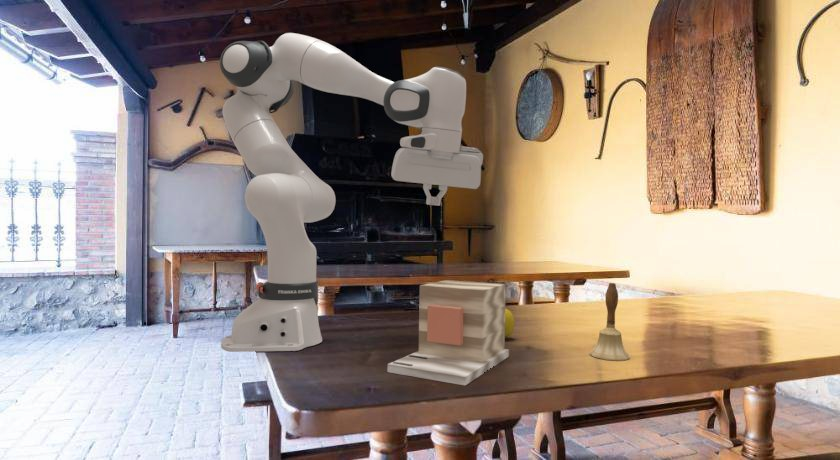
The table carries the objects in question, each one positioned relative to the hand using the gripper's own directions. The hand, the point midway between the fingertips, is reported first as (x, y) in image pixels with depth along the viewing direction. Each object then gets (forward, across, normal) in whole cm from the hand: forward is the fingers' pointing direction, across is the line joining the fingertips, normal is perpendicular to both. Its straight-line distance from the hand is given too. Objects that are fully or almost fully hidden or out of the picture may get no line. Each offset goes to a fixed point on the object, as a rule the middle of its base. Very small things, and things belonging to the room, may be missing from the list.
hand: (433, 204), depth 119 cm
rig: (+30, -3, +19) cm, 35 cm away
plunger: (+25, -3, +17) cm, 30 cm away
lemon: (+32, -22, -1) cm, 39 cm away
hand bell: (+28, -39, +19) cm, 51 cm away
